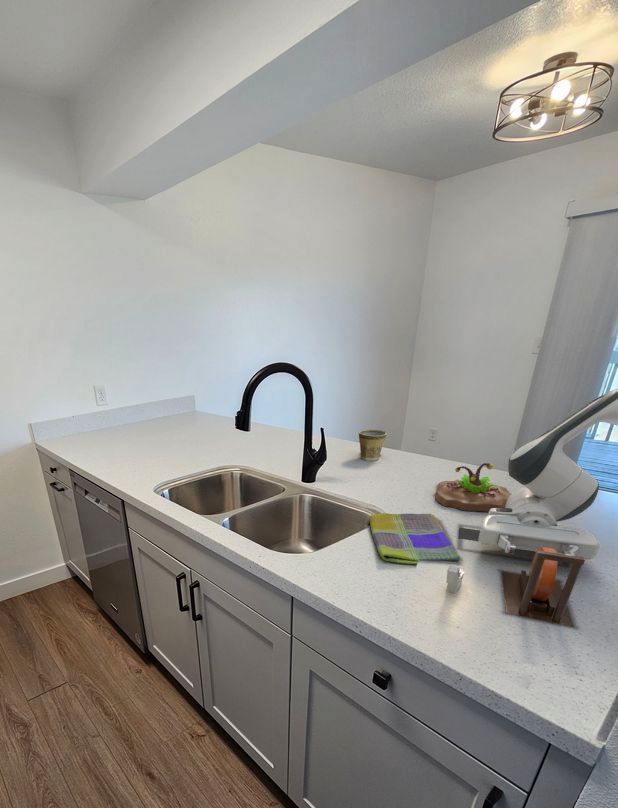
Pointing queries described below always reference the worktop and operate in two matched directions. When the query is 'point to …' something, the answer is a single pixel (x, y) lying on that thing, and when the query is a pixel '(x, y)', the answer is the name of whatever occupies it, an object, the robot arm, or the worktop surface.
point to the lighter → (454, 579)
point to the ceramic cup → (371, 444)
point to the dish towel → (411, 538)
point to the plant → (472, 492)
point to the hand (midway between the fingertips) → (539, 554)
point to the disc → (544, 576)
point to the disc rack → (522, 590)
